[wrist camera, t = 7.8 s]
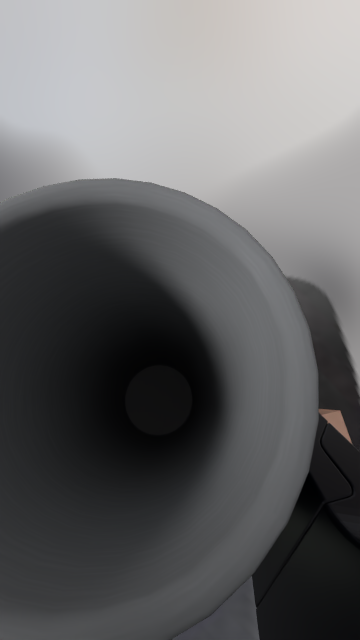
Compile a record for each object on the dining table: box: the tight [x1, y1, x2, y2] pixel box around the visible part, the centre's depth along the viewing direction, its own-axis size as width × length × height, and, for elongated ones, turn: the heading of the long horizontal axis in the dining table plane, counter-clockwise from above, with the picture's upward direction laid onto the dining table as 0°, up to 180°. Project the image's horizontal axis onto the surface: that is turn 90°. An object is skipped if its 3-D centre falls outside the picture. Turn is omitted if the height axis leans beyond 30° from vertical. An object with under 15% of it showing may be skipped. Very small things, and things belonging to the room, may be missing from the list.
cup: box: [0, 178, 319, 640], centre depth 11 cm, size 7×7×15 cm
